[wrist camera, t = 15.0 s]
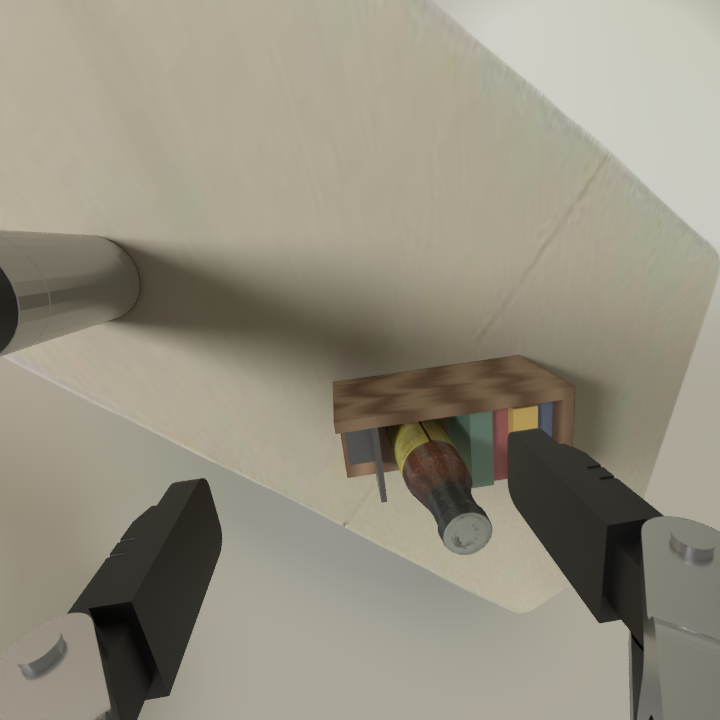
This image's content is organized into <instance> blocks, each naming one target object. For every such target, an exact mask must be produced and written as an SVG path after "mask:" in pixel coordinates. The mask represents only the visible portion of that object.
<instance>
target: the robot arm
mask: <svg viewBox="0 0 720 720" xmlns="http://www.w3.org/2000/svg"><path fill="white" fill-rule="evenodd" d="M139 291H140V280H139V275H138V272H137V269H136V267H135V264H134V263H133V261H132V260H131V258H130V257H129V256H128V254H127V253H126V252H125V251H124V250H123V249H122V248H120V247H119V246H118V245H116V244H115V243H113V242H111V241H109V240H107V239H105V238H101V237H98V236H90V235H75V234H60V233H41V232H23V231H4V230H0V356H3V355H6V354H9V353H12V352H15V351H18V350H21V349H24V348H27V347H30V346H33V345H36V344H39V343H42V342H45V341H48V340H51V339H54V338H57V337H60V336H63V335H67V334H70V333H73V332H76V331H79V330H82V329H85V328H88V327H91V326H94V325H98V324H100V323H103V322H106V321H109V320H112V319H115V318H118V317H121V316H123V315H124V314H126V313H127V312H128V311H129V310H130V309H131V308H132V307H133V306H134V304H135V303H136V301H137V299H138V295H139ZM507 453H508V488H509V492H510V496H511V498H512V501H513V503H514V505H515V507H516V508H517V510H518V511H519V512H520V514H521V515H522V517H523V518H524V519H525V521H526V522H527V524H528V525H529V526H530V528H531V529H532V530H533V532H534V533H535V535H536V536H537V537H538V539H539V540H540V542H541V543H542V544H543V546H544V547H545V549H546V550H547V551H548V553H549V554H550V556H551V557H552V558H553V560H554V561H555V563H556V564H557V565H558V567H559V568H560V569H561V571H562V572H563V574H564V575H565V576H566V578H567V579H568V581H569V582H570V583H571V585H572V586H573V588H574V589H575V590H576V592H577V593H578V595H579V596H580V597H581V599H582V600H583V601H584V603H585V604H586V605H587V607H588V608H589V610H590V611H591V613H592V614H593V615H594V617H595V618H596V619H597V621H598V622H599V623H604V622H610V621H615V620H622V621H623V622H624V623H625V625H626V626H627V627H628V628H629V630H630V633H629V642H628V645H629V688H630V720H720V532H719V531H717V530H715V529H714V528H712V527H709V526H707V525H704V524H702V523H699V522H696V521H693V520H689V519H685V518H680V517H671V516H666V517H665V516H663V515H662V514H661V513H660V512H658V511H657V510H656V509H655V508H653V507H652V506H651V505H650V504H648V503H647V502H646V501H645V500H643V499H642V498H641V497H640V496H638V495H637V494H636V493H635V492H633V491H632V490H631V489H630V488H629V487H627V486H626V485H625V484H624V483H622V482H621V481H620V480H619V479H617V478H614V475H612V474H611V473H610V472H609V471H607V470H606V469H605V468H604V467H603V468H601V466H600V464H599V463H597V462H596V461H595V460H594V459H592V458H591V457H590V456H589V455H587V454H586V453H585V452H583V451H580V450H578V449H576V448H574V447H571V446H569V445H567V444H565V443H564V444H559V443H557V442H556V441H555V440H554V439H553V438H552V437H550V436H549V435H548V434H547V433H546V432H544V431H543V430H542V429H540V428H534V429H528V430H521V431H515V432H510V433H509V435H508V439H507ZM221 546H222V532H221V526H220V522H219V519H218V515H217V512H216V508H215V504H214V501H213V497H212V494H211V490H210V487H209V484H208V482H207V480H206V479H204V478H202V479H195V480H188V481H181V482H175V483H173V484H172V485H170V487H169V488H168V490H167V491H166V493H165V494H164V496H163V497H162V499H161V500H160V502H159V503H158V505H157V506H151V507H150V508H149V509H148V510H147V511H145V512H144V513H143V514H142V515H141V516H139V517H138V518H137V519H136V520H135V521H134V522H133V523H132V524H131V525H130V527H129V528H128V530H127V531H126V532H125V534H124V535H123V537H122V538H121V541H120V543H117V545H116V546H115V548H114V549H113V551H112V552H111V553H110V558H107V559H106V560H105V562H104V563H103V564H102V566H101V567H100V569H99V570H98V571H97V573H96V574H95V576H94V577H93V578H92V580H91V581H90V583H89V584H88V585H87V587H86V588H85V590H84V591H83V592H82V594H81V595H80V596H79V598H78V599H77V601H76V602H75V603H74V605H73V606H72V608H71V609H70V610H69V612H68V613H67V614H65V615H62V616H59V617H56V618H54V619H51V620H49V621H47V622H45V623H43V624H42V625H40V626H38V627H37V628H35V629H33V630H32V631H30V632H29V633H28V634H26V635H25V636H23V637H22V638H21V639H20V640H18V641H17V642H16V643H15V644H14V645H13V646H12V647H11V648H10V649H9V650H7V651H6V653H5V654H4V655H3V656H2V657H1V658H0V720H137V718H138V716H139V713H140V711H141V708H142V706H143V704H144V701H145V700H149V699H154V698H160V697H166V696H169V695H170V692H171V689H172V686H173V683H174V681H175V678H176V675H177V672H178V670H179V667H180V664H181V661H182V658H183V656H184V653H185V650H186V647H187V644H188V642H189V639H190V636H191V633H192V630H193V628H194V625H195V622H196V619H197V616H198V614H199V611H200V608H201V605H202V602H203V599H204V597H205V594H206V591H207V589H208V586H209V583H210V580H211V577H212V575H213V571H214V569H215V566H216V563H217V560H218V558H219V555H220V552H221Z"/></svg>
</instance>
